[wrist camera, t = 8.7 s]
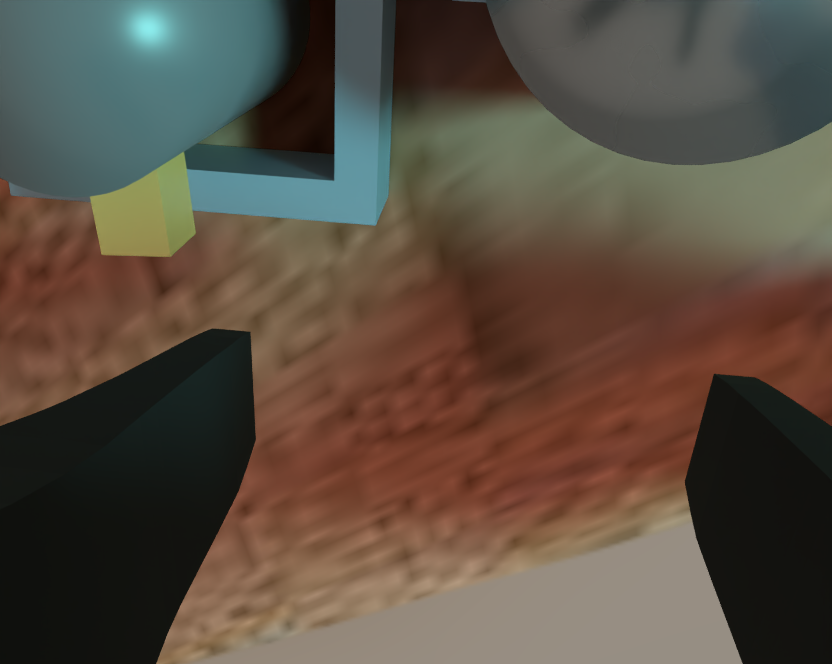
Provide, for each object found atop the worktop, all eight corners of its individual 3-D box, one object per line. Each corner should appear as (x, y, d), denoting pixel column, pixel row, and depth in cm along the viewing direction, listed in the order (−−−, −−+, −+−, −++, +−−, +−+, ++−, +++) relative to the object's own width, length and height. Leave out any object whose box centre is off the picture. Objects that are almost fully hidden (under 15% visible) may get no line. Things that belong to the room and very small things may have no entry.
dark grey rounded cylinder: (302, -105, 17) (169, -151, 10) (320, 176, 20) (227, 296, 13) (100, -102, 17) (-166, -145, 10) (146, 173, 20) (-38, 287, 13)
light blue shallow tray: (404, -214, 16) (391, -242, 14) (388, 195, 20) (375, 225, 18) (-2, -235, 16) (-78, -265, 14) (63, 169, 21) (10, 195, 18)
